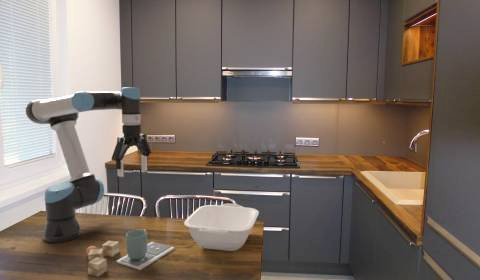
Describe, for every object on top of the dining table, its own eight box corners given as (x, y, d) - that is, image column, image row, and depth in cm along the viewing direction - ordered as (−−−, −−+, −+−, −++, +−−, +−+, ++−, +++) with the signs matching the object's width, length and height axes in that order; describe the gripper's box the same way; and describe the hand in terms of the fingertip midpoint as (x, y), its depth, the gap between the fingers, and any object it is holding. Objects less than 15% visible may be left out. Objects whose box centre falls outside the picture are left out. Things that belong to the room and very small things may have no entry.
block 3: (102, 255, 143) (102, 244, 142) (109, 250, 147) (108, 240, 147) (112, 256, 142) (112, 246, 141) (118, 252, 146) (118, 241, 146)
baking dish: (203, 226, 174) (203, 201, 172) (261, 231, 168) (261, 205, 166) (177, 258, 141) (176, 227, 139) (248, 265, 135) (248, 233, 133)
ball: (84, 256, 142) (83, 247, 141) (92, 252, 145) (92, 243, 145) (91, 258, 140) (90, 249, 139) (99, 254, 143) (99, 245, 143)
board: (116, 262, 137) (116, 259, 137) (152, 243, 154) (152, 240, 154) (140, 270, 131) (139, 266, 131) (174, 249, 149) (174, 246, 149)
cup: (141, 263, 134) (141, 237, 132) (122, 261, 135) (121, 236, 134) (151, 254, 141) (150, 229, 140) (133, 252, 143) (132, 228, 142)
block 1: (88, 266, 135) (88, 254, 134) (91, 260, 139) (90, 249, 138) (101, 264, 135) (100, 253, 135) (103, 259, 140) (102, 248, 139)
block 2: (96, 257, 132) (97, 268, 133) (87, 262, 128) (88, 274, 128) (106, 259, 130) (107, 270, 131) (97, 264, 126) (98, 276, 127)
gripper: (114, 127, 138) (116, 180, 141) (158, 122, 160) (159, 168, 163) (101, 126, 142) (103, 178, 145) (146, 121, 163) (147, 166, 167)
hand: (132, 173), depth 154 cm, fingers open, 13 cm apart
